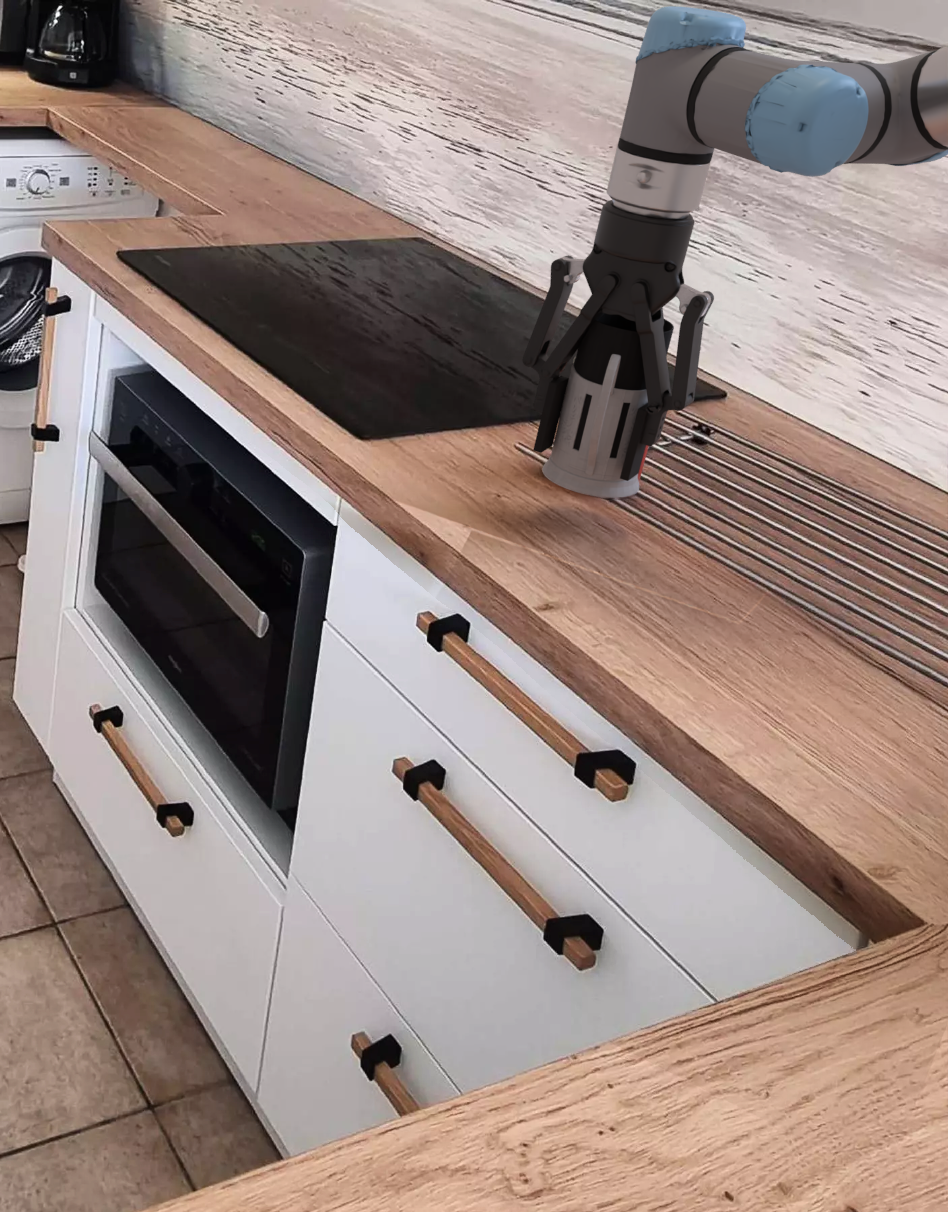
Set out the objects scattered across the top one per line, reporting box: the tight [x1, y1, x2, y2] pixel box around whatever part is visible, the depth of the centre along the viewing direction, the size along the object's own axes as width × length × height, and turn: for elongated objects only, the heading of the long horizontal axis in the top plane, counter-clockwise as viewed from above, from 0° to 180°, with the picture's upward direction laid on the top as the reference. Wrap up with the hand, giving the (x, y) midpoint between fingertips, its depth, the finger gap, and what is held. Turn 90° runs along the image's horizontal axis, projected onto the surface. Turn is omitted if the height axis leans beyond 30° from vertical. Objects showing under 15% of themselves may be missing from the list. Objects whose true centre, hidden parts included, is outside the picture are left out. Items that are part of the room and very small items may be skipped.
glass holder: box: [541, 313, 675, 498], centre depth 139 cm, size 9×14×15 cm, turn 158°
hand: (585, 461), depth 142 cm, fingers closed on glass holder, 7 cm apart
